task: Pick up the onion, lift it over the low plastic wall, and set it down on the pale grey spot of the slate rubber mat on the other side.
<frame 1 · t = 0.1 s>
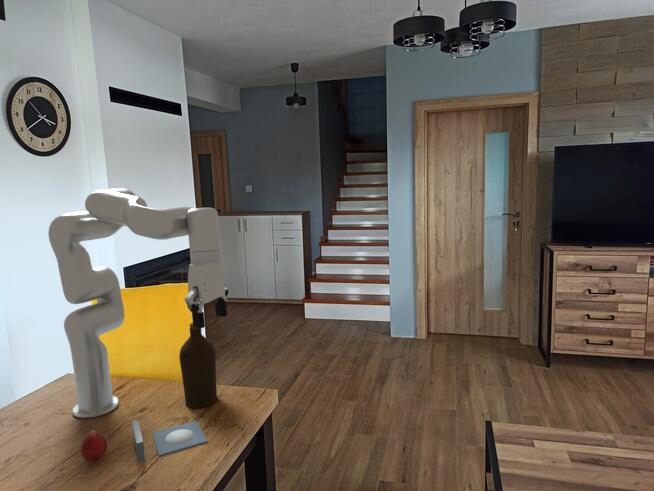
hand: (210, 321, 121), 31 cm above the table, tool pointing down, fingers open, 9 cm apart
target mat: (179, 438, 124), on the table
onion: (95, 462, 115), on the table
olive oil: (201, 401, 144), on the table
low wall: (139, 449, 119), on the table
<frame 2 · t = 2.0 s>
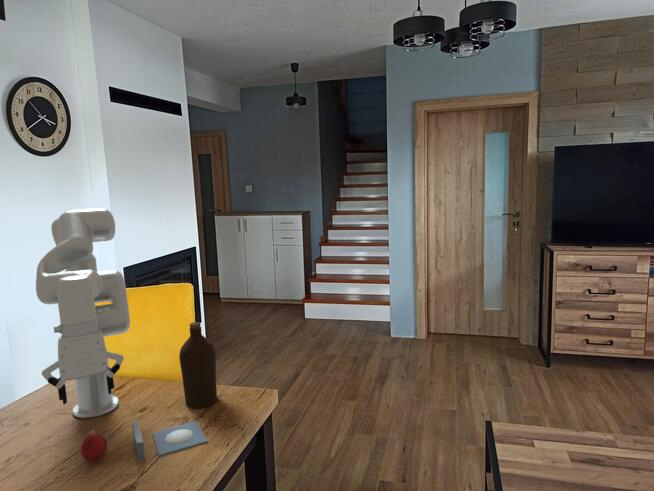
hand: (87, 396, 112), 17 cm above the table, tool pointing down, fingers open, 9 cm apart
nothing on the table moved.
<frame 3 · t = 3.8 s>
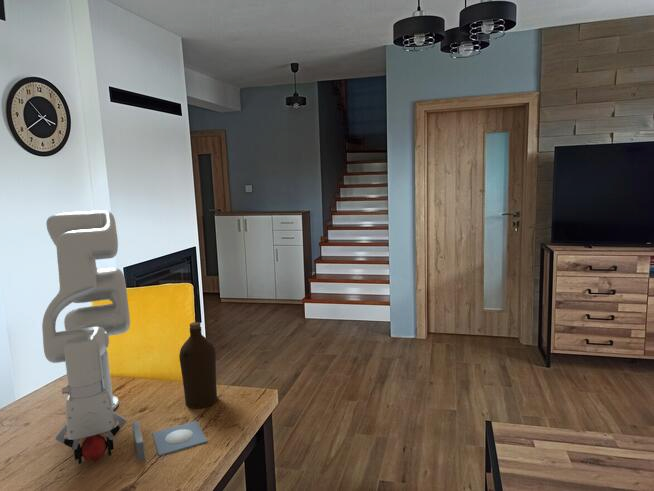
hand: (95, 456, 114), 1 cm above the table, tool pointing down, fingers closed on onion, 5 cm apart
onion: (95, 462, 115), on the table, touching gripper
everything else where it was.
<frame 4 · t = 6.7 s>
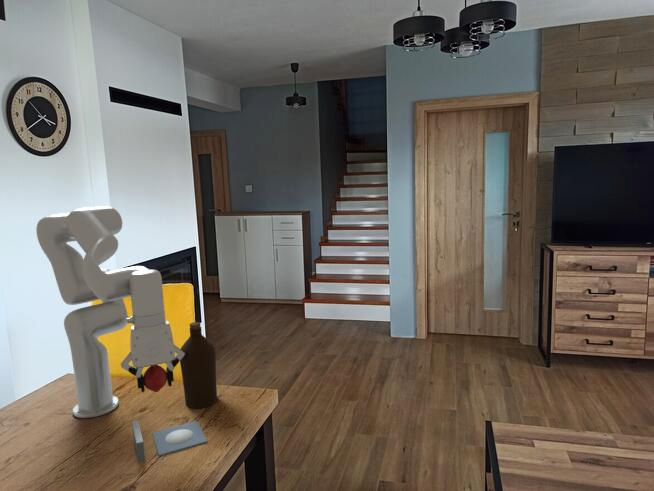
hand: (156, 386, 119), 16 cm above the table, tool pointing down, fingers closed on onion, 5 cm apart
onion: (156, 392, 119), point 14 cm above the table, touching gripper
everything else where it was.
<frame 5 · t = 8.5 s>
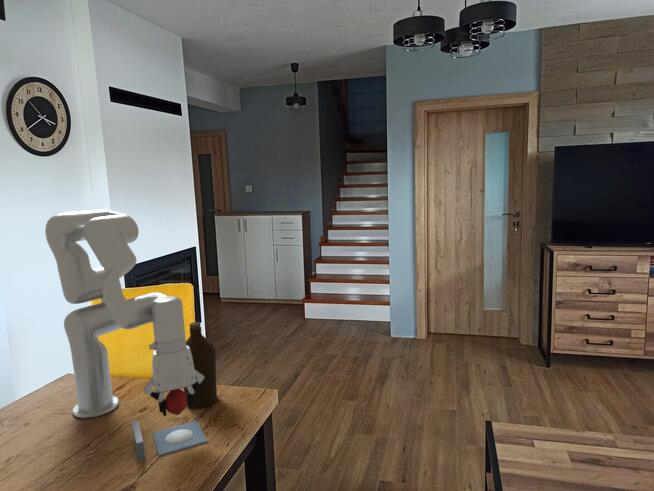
hand: (177, 409, 122), 8 cm above the table, tool pointing down, fingers closed on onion, 5 cm apart
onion: (177, 415, 123), point 6 cm above the table, touching gripper
everything else where it was.
when the fingers open (4 cm above the table, at t = 9.8 s): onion drops 2 cm, resting on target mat.
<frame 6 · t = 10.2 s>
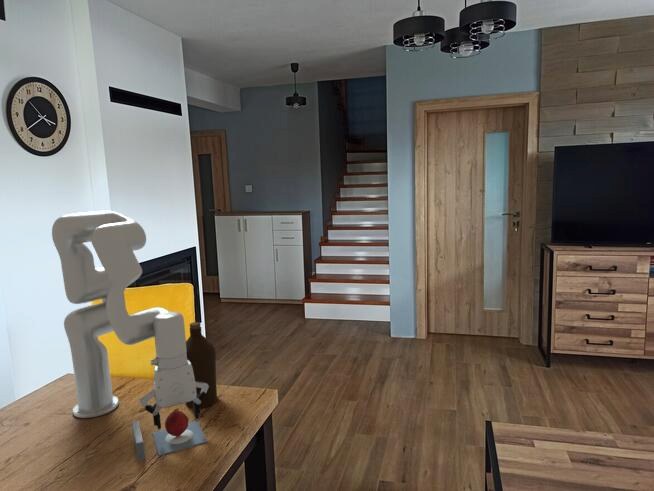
hand: (177, 421, 123), 5 cm above the table, tool pointing down, fingers open, 9 cm apart
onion: (178, 436, 124), resting on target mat
everything else where it was.
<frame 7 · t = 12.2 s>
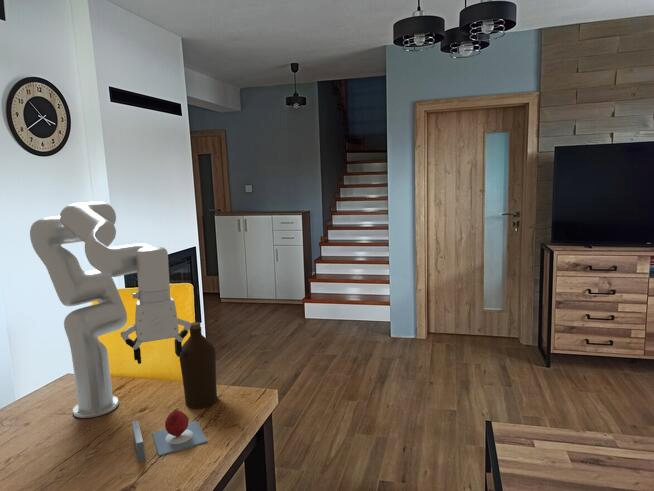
hand: (158, 358, 122), 22 cm above the table, tool pointing down, fingers open, 9 cm apart
nothing on the table moved.
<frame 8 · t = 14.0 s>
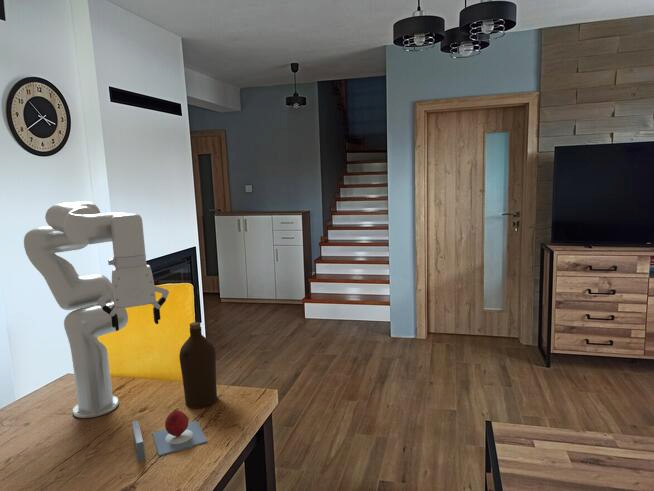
hand: (137, 326, 122), 30 cm above the table, tool pointing down, fingers open, 9 cm apart
nothing on the table moved.
at the end: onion inside the target area on the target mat (0.3 cm from its centre), point 0.3 cm above the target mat's base; the gripper is holding nothing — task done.
